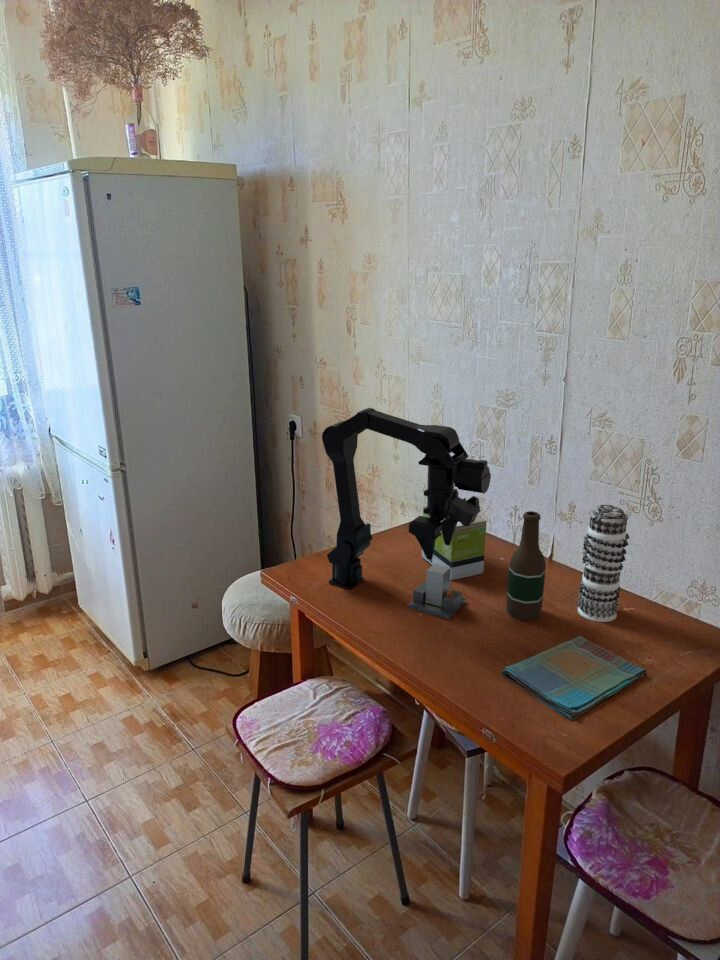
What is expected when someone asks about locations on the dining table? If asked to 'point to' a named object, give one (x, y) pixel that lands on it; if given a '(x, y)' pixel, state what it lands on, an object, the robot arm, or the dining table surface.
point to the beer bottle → (526, 573)
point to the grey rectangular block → (437, 584)
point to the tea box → (462, 549)
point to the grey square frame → (449, 607)
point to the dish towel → (573, 676)
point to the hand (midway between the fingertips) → (438, 552)
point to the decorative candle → (603, 563)
